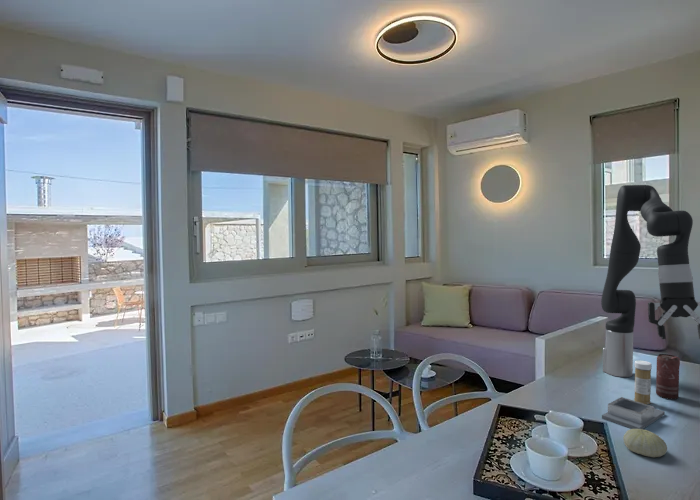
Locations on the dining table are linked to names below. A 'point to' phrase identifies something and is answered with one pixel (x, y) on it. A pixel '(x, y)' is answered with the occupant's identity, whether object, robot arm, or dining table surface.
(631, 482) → the dining table surface
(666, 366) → the can
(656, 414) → the slate board
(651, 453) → the sea urchin shell
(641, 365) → the sprinkles bottle
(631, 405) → the collar
